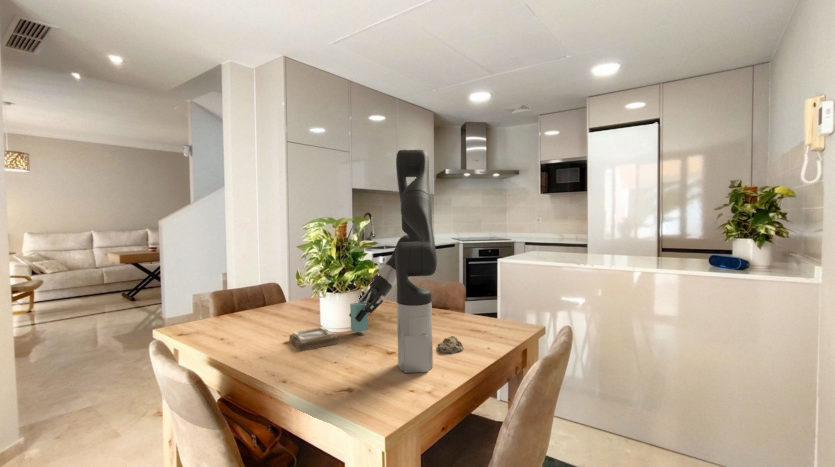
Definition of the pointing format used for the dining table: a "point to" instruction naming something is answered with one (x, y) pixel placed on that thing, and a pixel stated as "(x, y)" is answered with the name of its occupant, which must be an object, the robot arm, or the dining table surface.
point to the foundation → (313, 338)
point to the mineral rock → (450, 345)
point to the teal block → (355, 309)
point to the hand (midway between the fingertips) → (354, 318)
